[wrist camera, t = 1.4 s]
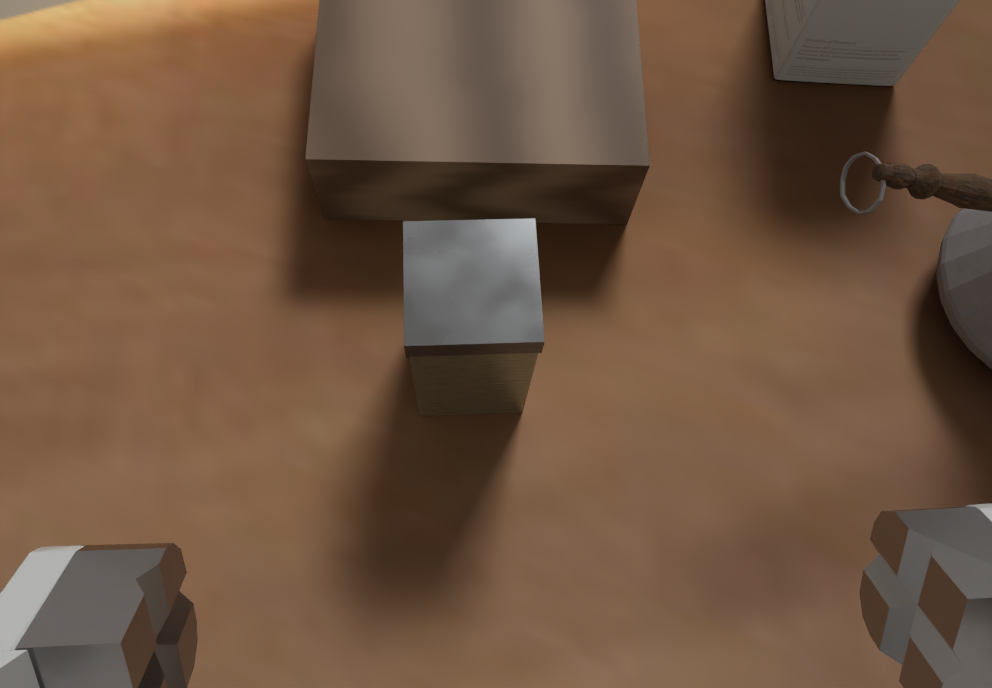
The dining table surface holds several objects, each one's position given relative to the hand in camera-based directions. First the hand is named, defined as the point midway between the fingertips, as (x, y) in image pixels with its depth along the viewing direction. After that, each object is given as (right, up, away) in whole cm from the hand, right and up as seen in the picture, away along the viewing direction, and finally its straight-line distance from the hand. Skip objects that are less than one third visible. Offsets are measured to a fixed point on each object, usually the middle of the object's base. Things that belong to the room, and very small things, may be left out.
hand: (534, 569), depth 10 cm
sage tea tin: (-2, +2, +31) cm, 31 cm away
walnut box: (-2, +16, +37) cm, 40 cm away
